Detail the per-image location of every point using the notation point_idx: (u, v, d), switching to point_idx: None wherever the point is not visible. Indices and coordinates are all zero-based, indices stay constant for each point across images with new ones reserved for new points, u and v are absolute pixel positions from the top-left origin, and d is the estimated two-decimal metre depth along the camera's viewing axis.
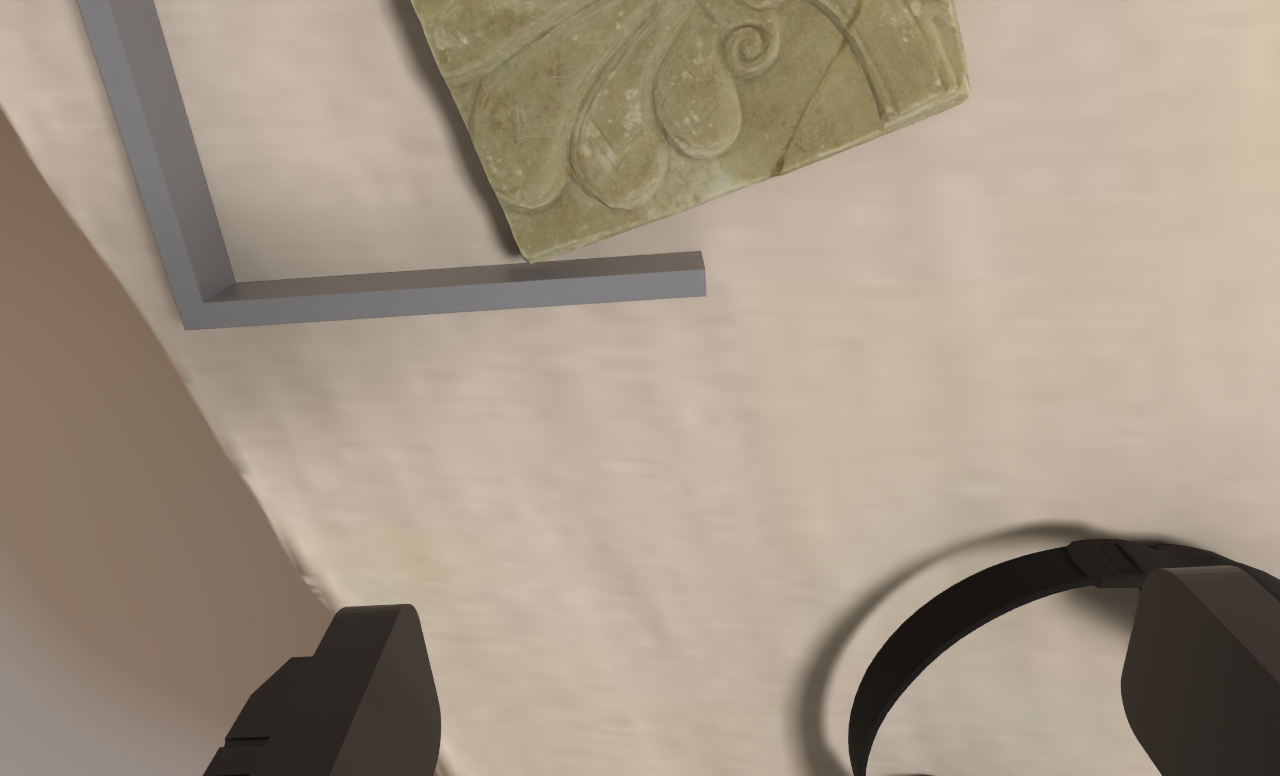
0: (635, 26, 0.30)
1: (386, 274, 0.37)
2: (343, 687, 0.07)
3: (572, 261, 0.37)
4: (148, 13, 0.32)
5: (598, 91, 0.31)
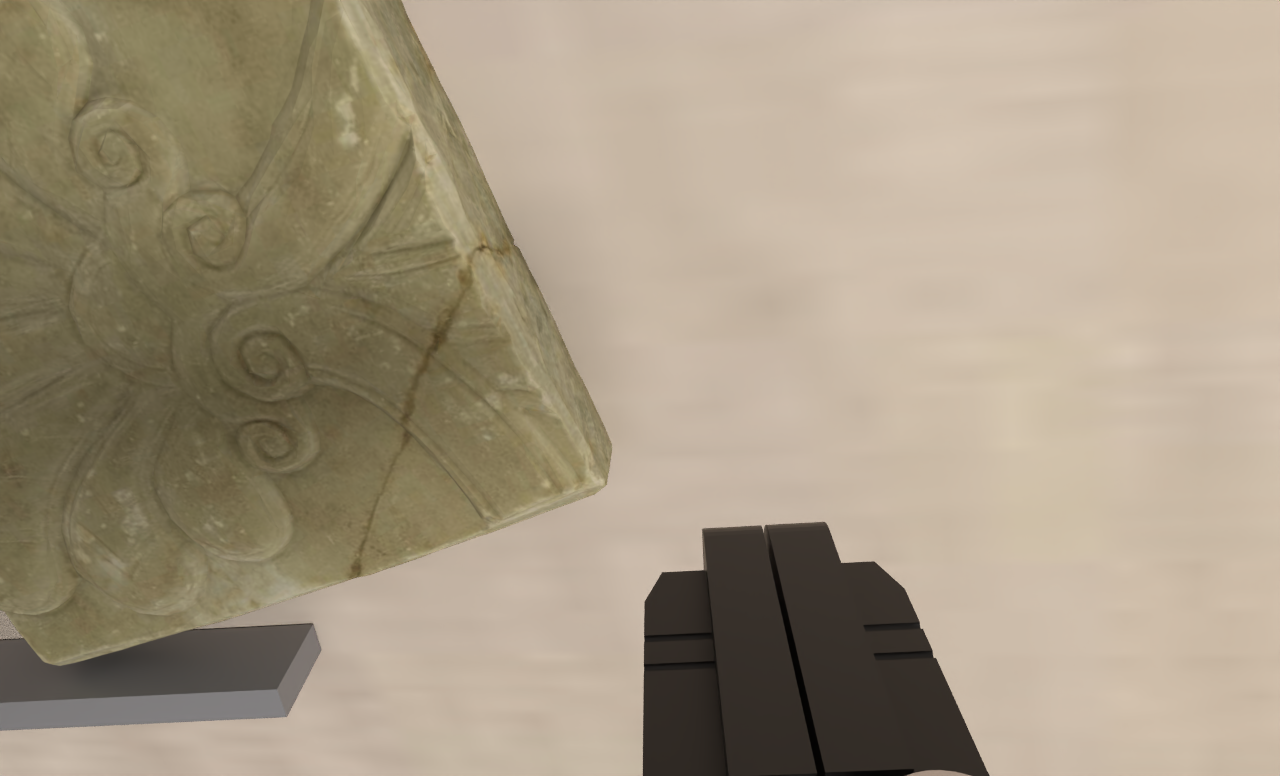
0: (107, 417, 0.22)
1: None
2: (754, 588, 0.08)
3: None
4: None
5: (78, 491, 0.23)
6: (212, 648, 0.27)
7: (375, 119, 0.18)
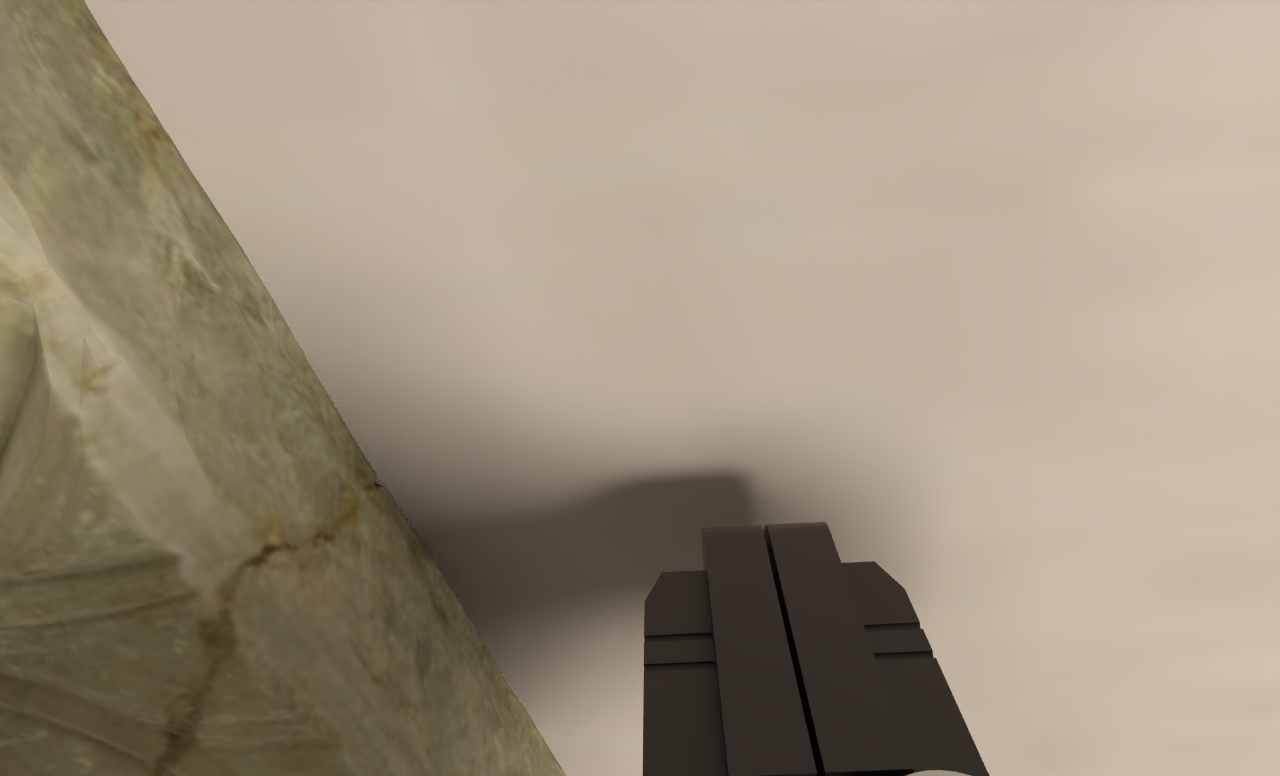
0: None
1: None
2: (754, 588, 0.08)
3: None
4: None
5: None
6: None
7: None
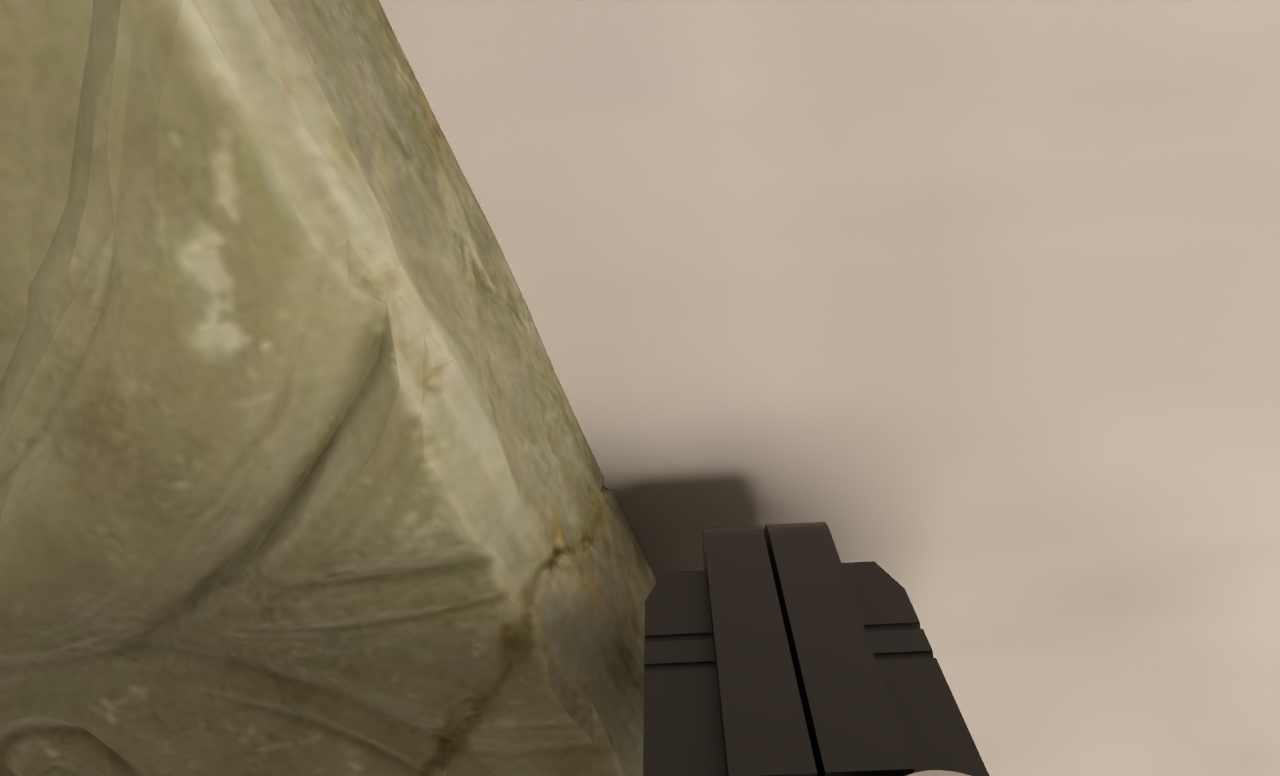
0: None
1: None
2: (754, 588, 0.08)
3: None
4: None
5: None
6: None
7: (290, 290, 0.07)
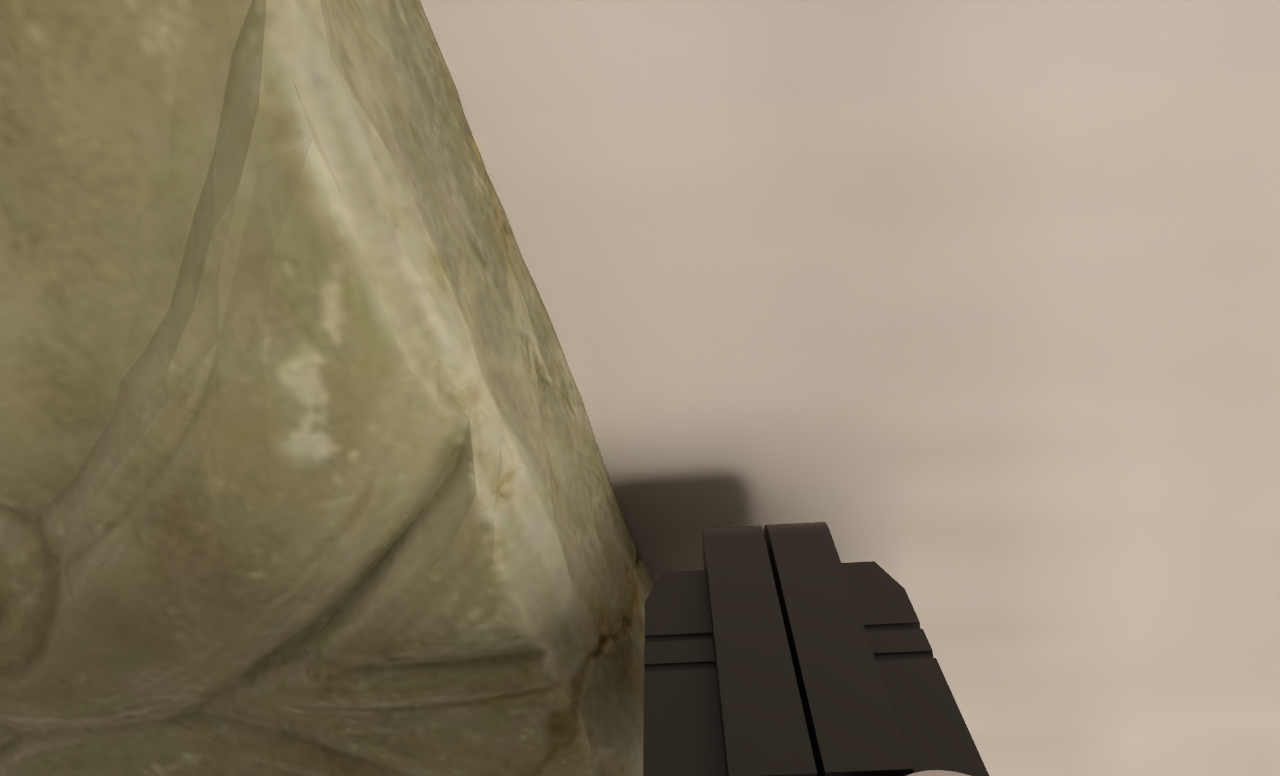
0: None
1: None
2: (754, 588, 0.08)
3: None
4: None
5: None
6: None
7: (382, 406, 0.07)
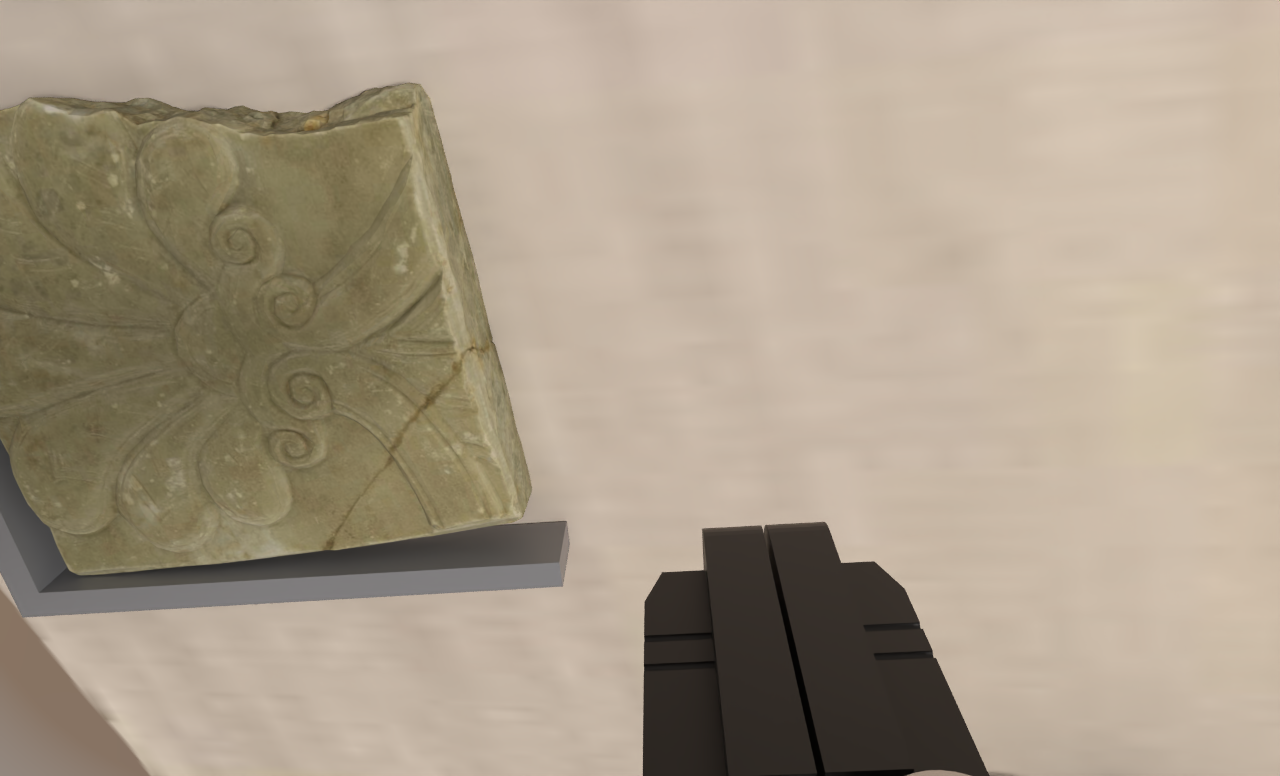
0: (178, 406, 0.30)
1: None
2: (754, 589, 0.08)
3: None
4: None
5: (140, 452, 0.31)
6: (492, 538, 0.34)
7: (421, 260, 0.27)
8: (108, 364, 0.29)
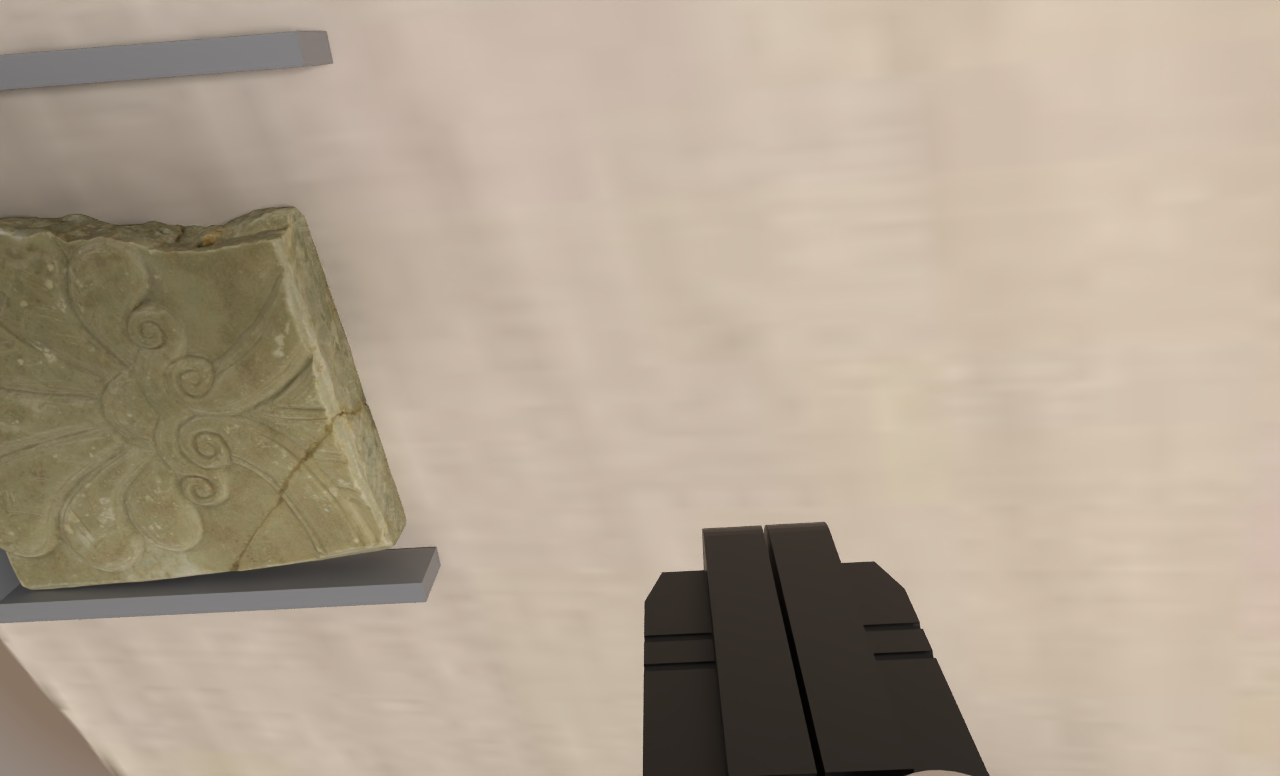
0: (107, 457, 0.37)
1: None
2: (754, 588, 0.08)
3: None
4: None
5: (77, 493, 0.38)
6: (373, 561, 0.42)
7: (294, 347, 0.35)
8: (49, 424, 0.37)
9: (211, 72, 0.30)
